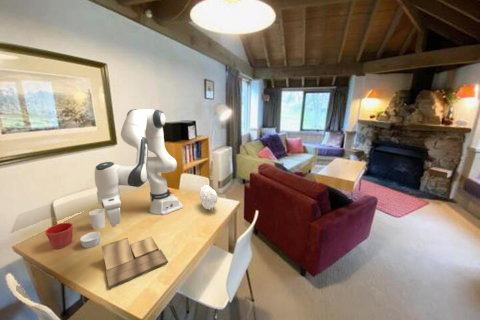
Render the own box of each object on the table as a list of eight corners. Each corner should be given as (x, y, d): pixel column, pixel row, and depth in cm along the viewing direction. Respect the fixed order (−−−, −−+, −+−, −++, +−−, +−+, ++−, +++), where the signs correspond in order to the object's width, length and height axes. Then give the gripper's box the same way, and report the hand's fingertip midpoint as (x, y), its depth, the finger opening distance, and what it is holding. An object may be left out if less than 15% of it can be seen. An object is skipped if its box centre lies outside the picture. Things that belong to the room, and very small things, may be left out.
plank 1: (127, 238, 106) (127, 237, 105) (133, 260, 100) (133, 259, 99) (101, 247, 99) (101, 245, 98) (106, 271, 93) (106, 270, 92)
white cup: (99, 231, 122) (96, 215, 120) (87, 229, 124) (85, 214, 121) (109, 224, 130) (107, 209, 127) (99, 222, 131) (96, 208, 129)
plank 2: (151, 239, 116) (151, 236, 116) (158, 250, 107) (158, 248, 107) (130, 246, 109) (129, 244, 109) (135, 259, 100) (135, 257, 100)
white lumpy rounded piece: (220, 212, 147) (220, 190, 143) (206, 216, 142) (206, 193, 137) (210, 202, 162) (210, 182, 158) (197, 206, 156) (196, 184, 152)
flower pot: (59, 238, 115) (55, 222, 112) (80, 237, 116) (77, 222, 113) (43, 251, 105) (39, 234, 102) (66, 250, 106) (63, 233, 103)
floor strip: (160, 250, 107) (160, 248, 107) (168, 263, 99) (167, 260, 99) (105, 272, 92) (105, 269, 92) (109, 289, 84) (109, 286, 84)
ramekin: (81, 242, 112) (79, 235, 111) (100, 236, 118) (99, 229, 117) (81, 251, 106) (80, 243, 105) (102, 244, 111) (101, 237, 110)
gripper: (98, 192, 101) (102, 217, 104) (104, 207, 86) (108, 237, 89) (113, 189, 105) (116, 214, 108) (121, 203, 90) (125, 232, 93)
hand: (113, 224), depth 98 cm, fingers closed
